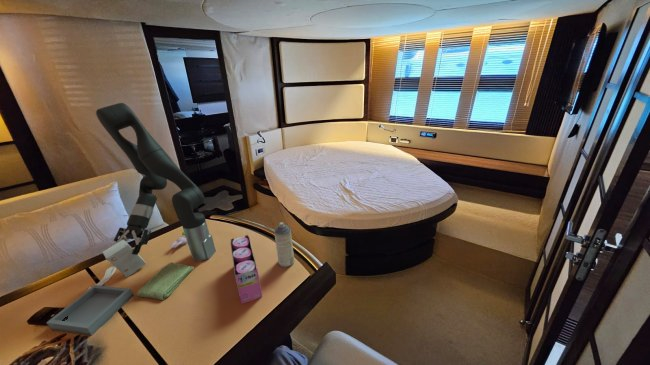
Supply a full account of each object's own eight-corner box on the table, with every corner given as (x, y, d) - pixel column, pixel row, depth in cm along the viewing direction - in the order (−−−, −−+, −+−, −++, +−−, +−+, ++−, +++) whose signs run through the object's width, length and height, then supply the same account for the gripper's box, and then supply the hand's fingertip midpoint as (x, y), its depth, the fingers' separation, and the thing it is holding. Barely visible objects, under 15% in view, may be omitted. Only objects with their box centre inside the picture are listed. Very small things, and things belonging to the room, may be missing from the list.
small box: (141, 257, 112) (123, 238, 104) (146, 263, 108) (128, 244, 100) (122, 270, 107) (101, 251, 99) (127, 278, 103) (105, 259, 96)
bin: (133, 295, 94) (130, 288, 93) (91, 335, 80) (87, 328, 79) (98, 291, 97) (94, 284, 96) (51, 329, 82) (46, 322, 81)
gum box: (235, 263, 109) (229, 237, 104) (253, 257, 112) (248, 232, 107) (241, 304, 89) (234, 275, 83) (263, 297, 92) (257, 268, 86)
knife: (118, 255, 116) (134, 254, 116) (119, 258, 117) (135, 257, 117) (52, 309, 88) (73, 308, 88) (54, 312, 89) (75, 311, 89)
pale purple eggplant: (187, 236, 131) (166, 251, 117) (186, 226, 130) (164, 239, 116) (198, 237, 131) (179, 251, 116) (197, 226, 129) (176, 240, 115)
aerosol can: (294, 256, 112) (290, 218, 104) (293, 266, 105) (289, 227, 97) (279, 257, 111) (274, 219, 103) (277, 268, 105) (272, 228, 97)
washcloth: (196, 268, 107) (194, 262, 106) (165, 302, 91) (162, 296, 90) (169, 265, 110) (167, 260, 108) (135, 298, 94) (132, 292, 92)
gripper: (119, 212, 107) (102, 251, 101) (148, 214, 105) (133, 253, 99) (133, 217, 114) (119, 253, 108) (161, 219, 112) (147, 256, 106)
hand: (125, 253), depth 103 cm, fingers closed on small box, 8 cm apart
